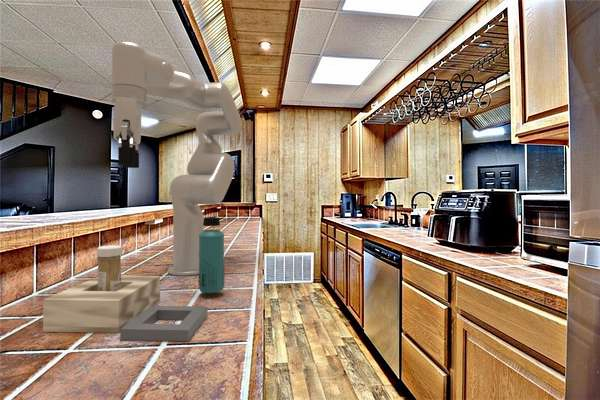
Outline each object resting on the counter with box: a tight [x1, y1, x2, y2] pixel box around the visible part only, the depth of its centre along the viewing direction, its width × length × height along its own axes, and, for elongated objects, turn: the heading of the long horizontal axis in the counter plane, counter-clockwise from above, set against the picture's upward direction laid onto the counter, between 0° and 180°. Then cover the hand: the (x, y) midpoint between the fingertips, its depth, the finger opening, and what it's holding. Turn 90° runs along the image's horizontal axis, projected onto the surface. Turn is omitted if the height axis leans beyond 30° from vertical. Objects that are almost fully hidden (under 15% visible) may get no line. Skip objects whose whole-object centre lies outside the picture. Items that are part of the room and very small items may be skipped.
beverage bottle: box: [197, 216, 225, 294], centre depth 84 cm, size 6×7×20 cm
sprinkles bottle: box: [96, 244, 123, 291], centre depth 70 cm, size 5×5×14 cm
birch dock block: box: [42, 274, 161, 334], centre depth 70 cm, size 18×14×6 cm
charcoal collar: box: [119, 305, 209, 342], centre depth 64 cm, size 12×12×2 cm
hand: (129, 166), depth 81 cm, fingers open, 9 cm apart
